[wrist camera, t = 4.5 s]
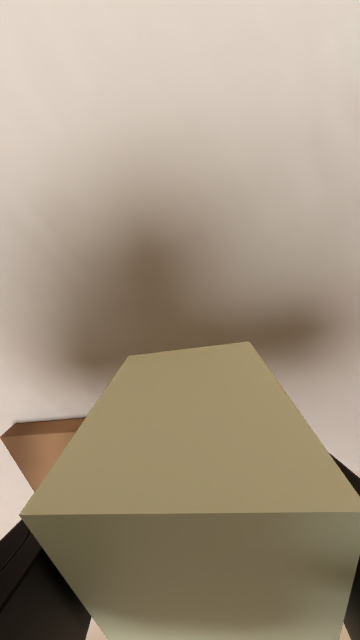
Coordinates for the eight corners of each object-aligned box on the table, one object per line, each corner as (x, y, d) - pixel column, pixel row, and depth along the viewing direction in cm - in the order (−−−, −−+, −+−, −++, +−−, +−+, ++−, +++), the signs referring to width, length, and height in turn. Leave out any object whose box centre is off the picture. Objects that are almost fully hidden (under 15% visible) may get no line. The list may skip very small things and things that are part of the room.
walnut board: (176, 411, 13) (175, 424, 12) (195, 496, 16) (195, 513, 15) (14, 423, 15) (-1, 437, 14) (58, 499, 18) (49, 515, 17)
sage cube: (249, 341, 8) (370, 512, 2) (254, 436, 9) (333, 660, 4) (128, 355, 8) (19, 514, 3) (153, 442, 10) (109, 641, 5)
